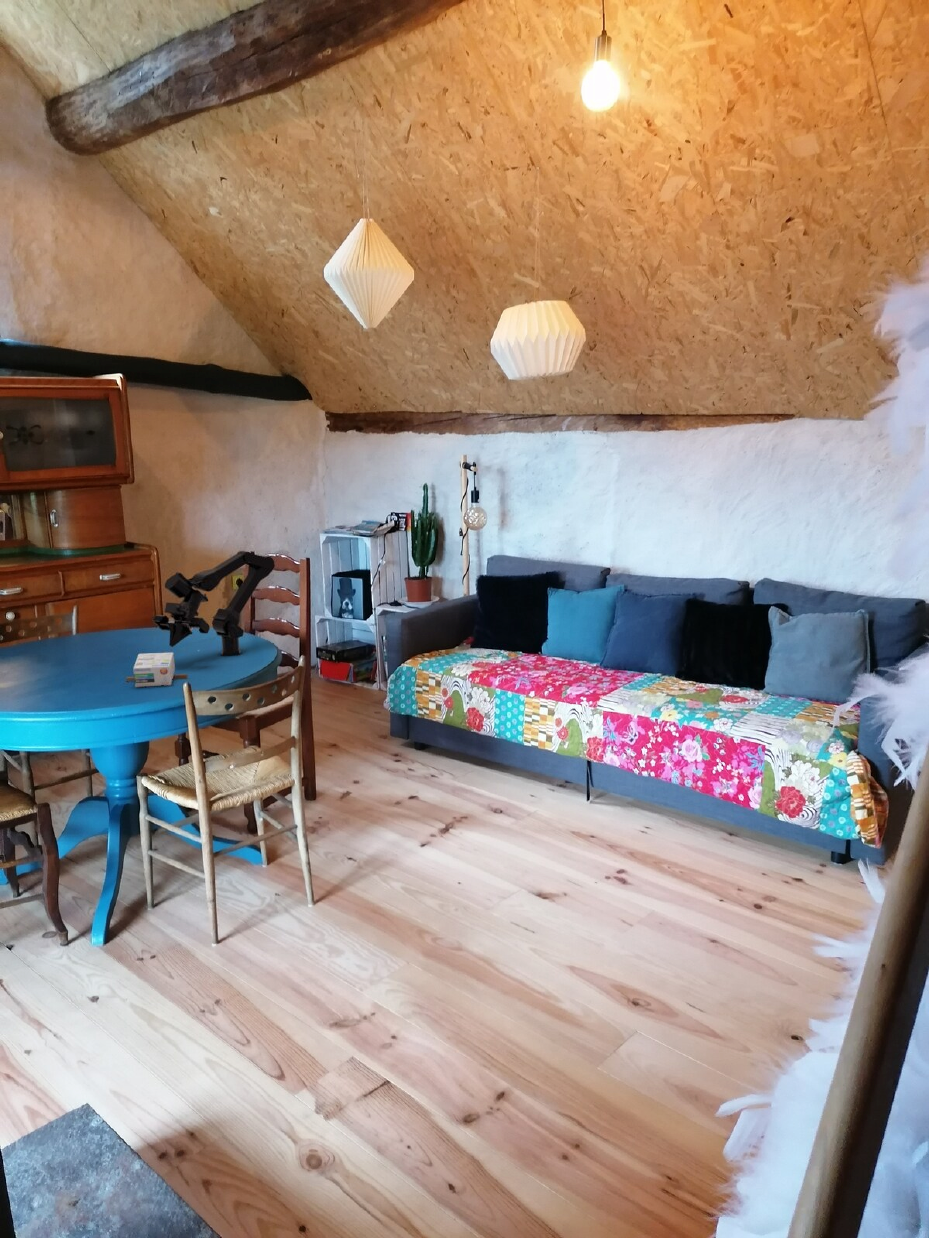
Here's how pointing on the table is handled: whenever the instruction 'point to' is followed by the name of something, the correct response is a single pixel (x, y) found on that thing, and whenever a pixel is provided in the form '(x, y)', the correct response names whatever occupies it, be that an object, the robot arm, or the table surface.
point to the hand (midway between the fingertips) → (171, 646)
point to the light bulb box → (154, 669)
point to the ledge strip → (175, 676)
